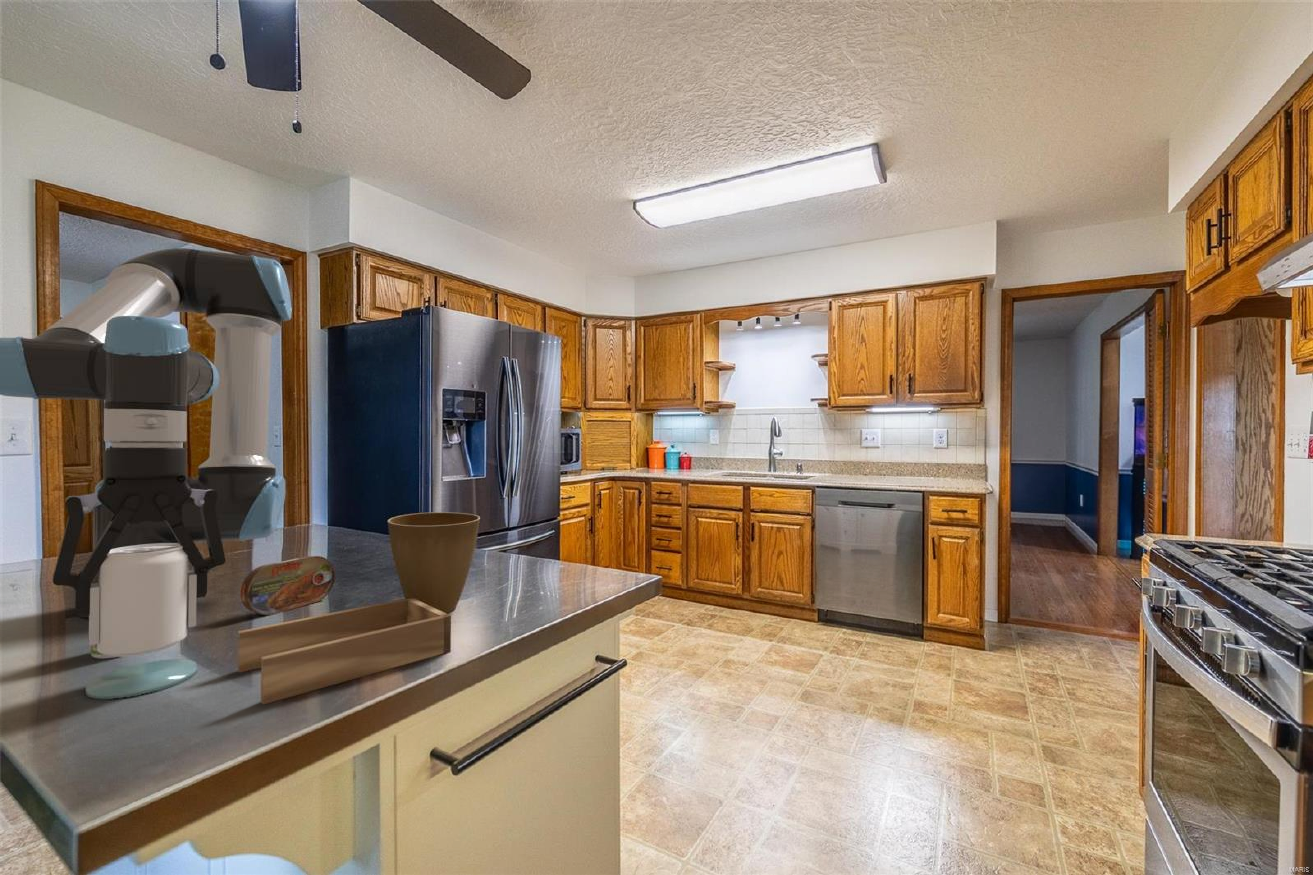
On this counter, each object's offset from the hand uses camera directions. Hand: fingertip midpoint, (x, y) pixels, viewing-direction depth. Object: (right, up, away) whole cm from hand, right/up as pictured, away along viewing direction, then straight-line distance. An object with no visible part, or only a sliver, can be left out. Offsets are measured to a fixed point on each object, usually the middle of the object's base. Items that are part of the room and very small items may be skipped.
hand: (144, 632), depth 69 cm
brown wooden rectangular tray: (+22, -6, +7) cm, 24 cm away
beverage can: (0, -2, 0) cm, 2 cm away
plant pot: (+24, -6, +29) cm, 38 cm away
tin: (-2, -6, +30) cm, 30 cm away
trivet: (0, -6, 0) cm, 6 cm away
